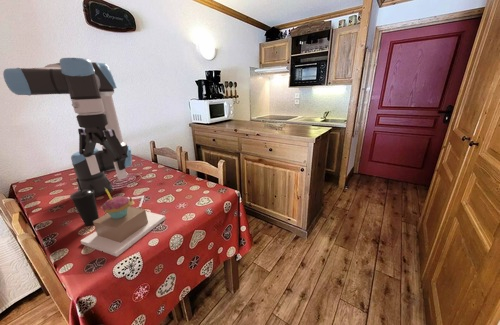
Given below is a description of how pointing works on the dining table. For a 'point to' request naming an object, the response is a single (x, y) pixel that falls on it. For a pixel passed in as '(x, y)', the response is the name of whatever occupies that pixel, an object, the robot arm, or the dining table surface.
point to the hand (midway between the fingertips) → (108, 175)
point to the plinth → (125, 243)
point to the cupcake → (116, 206)
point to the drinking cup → (85, 204)
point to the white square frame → (134, 202)
